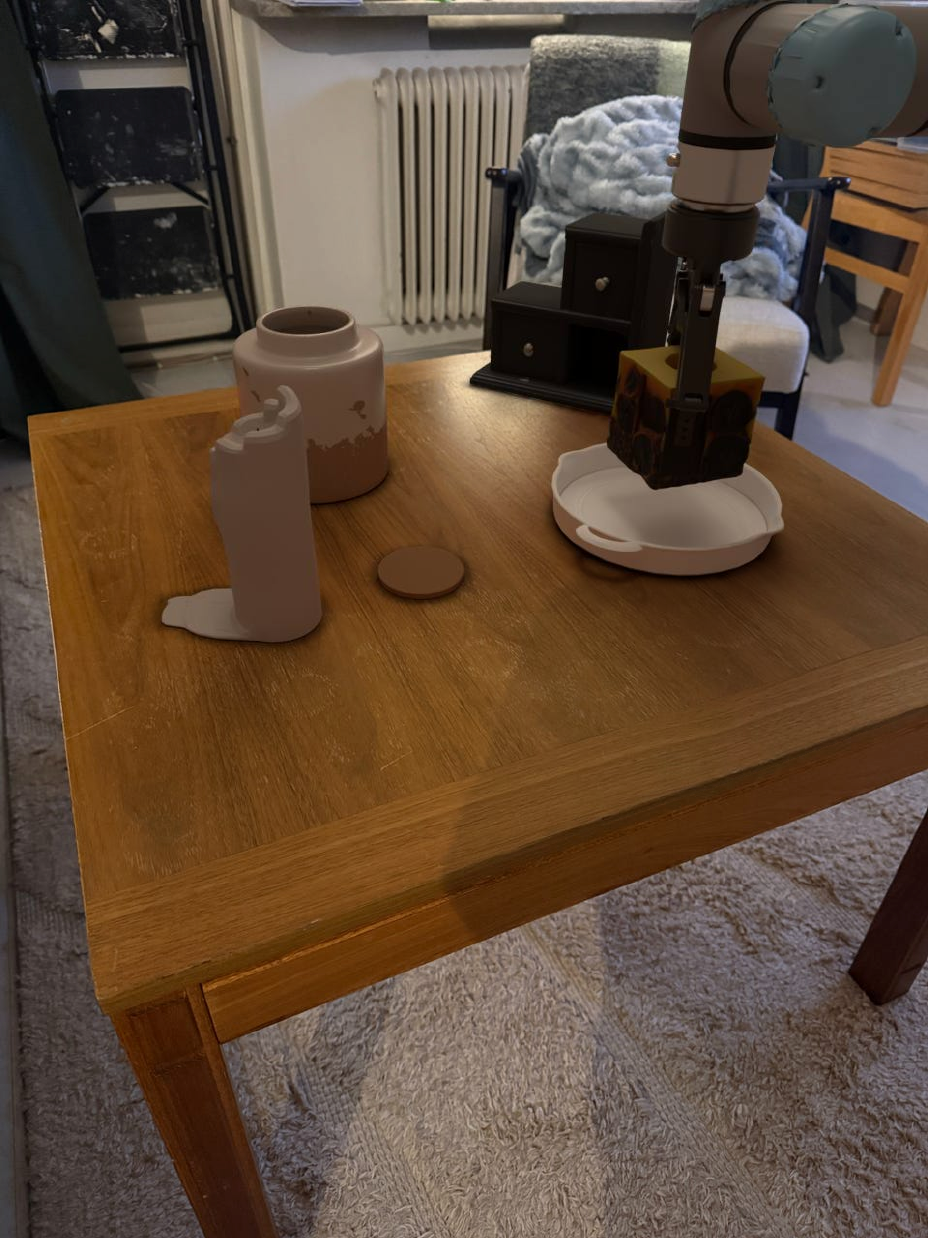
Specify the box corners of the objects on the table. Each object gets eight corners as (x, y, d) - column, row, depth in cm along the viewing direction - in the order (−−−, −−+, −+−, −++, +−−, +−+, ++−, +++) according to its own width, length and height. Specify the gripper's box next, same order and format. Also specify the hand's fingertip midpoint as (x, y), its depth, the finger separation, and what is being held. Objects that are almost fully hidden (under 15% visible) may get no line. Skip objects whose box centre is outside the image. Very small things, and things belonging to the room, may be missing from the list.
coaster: (470, 555, 83) (470, 550, 82) (456, 603, 76) (456, 598, 76) (388, 547, 83) (388, 541, 83) (368, 594, 77) (368, 588, 77)
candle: (652, 493, 79) (669, 389, 73) (602, 447, 87) (614, 350, 81) (746, 478, 82) (770, 376, 76) (690, 434, 90) (708, 339, 84)
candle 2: (175, 586, 77) (128, 370, 65) (329, 595, 77) (309, 378, 65) (147, 636, 72) (89, 408, 60) (312, 645, 71) (288, 417, 59)
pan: (819, 507, 91) (829, 473, 89) (714, 629, 74) (724, 591, 72) (616, 443, 103) (620, 411, 101) (484, 535, 85) (485, 500, 83)
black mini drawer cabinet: (467, 385, 116) (472, 194, 102) (504, 360, 124) (513, 180, 110) (630, 424, 107) (660, 221, 93) (659, 395, 115) (691, 203, 101)
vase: (224, 465, 96) (199, 314, 86) (339, 430, 104) (329, 287, 94) (295, 520, 87) (277, 358, 77) (416, 476, 95) (413, 324, 85)
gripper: (663, 171, 81) (632, 389, 93) (674, 235, 61) (632, 500, 74) (745, 175, 80) (702, 394, 93) (783, 241, 60) (722, 508, 73)
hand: (671, 441), depth 83 cm, fingers closed on candle, 13 cm apart
